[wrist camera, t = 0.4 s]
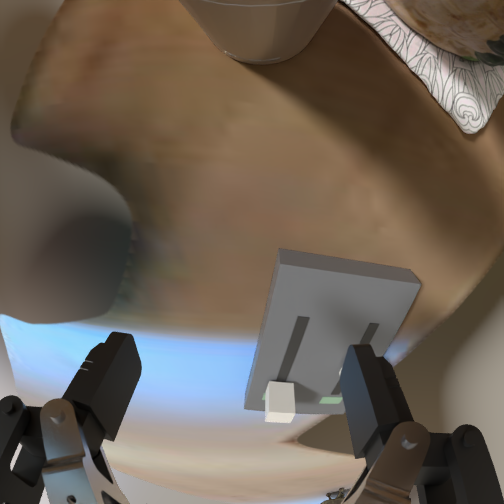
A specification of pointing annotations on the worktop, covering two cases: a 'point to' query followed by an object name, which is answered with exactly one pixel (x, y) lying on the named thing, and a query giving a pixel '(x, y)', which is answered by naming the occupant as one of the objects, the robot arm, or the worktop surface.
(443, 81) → the cookie jar
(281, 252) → the slider control panel
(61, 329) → the worktop surface
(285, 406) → the block
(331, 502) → the tabletop clock
